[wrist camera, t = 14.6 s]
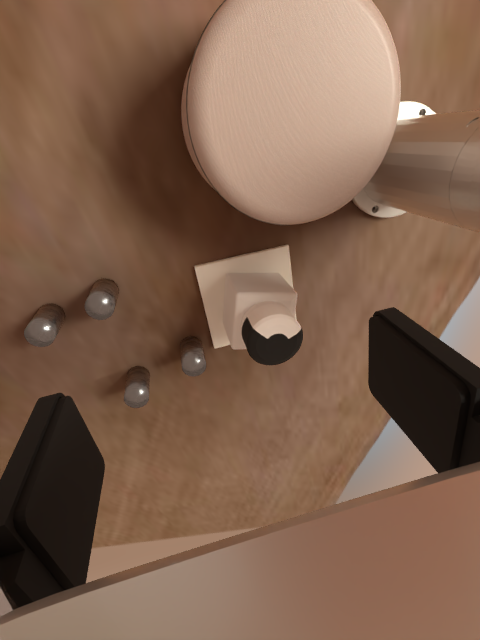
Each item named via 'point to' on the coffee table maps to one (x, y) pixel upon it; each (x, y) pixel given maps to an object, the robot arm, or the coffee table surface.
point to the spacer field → (101, 308)
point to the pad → (215, 272)
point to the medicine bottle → (261, 316)
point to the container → (291, 104)
